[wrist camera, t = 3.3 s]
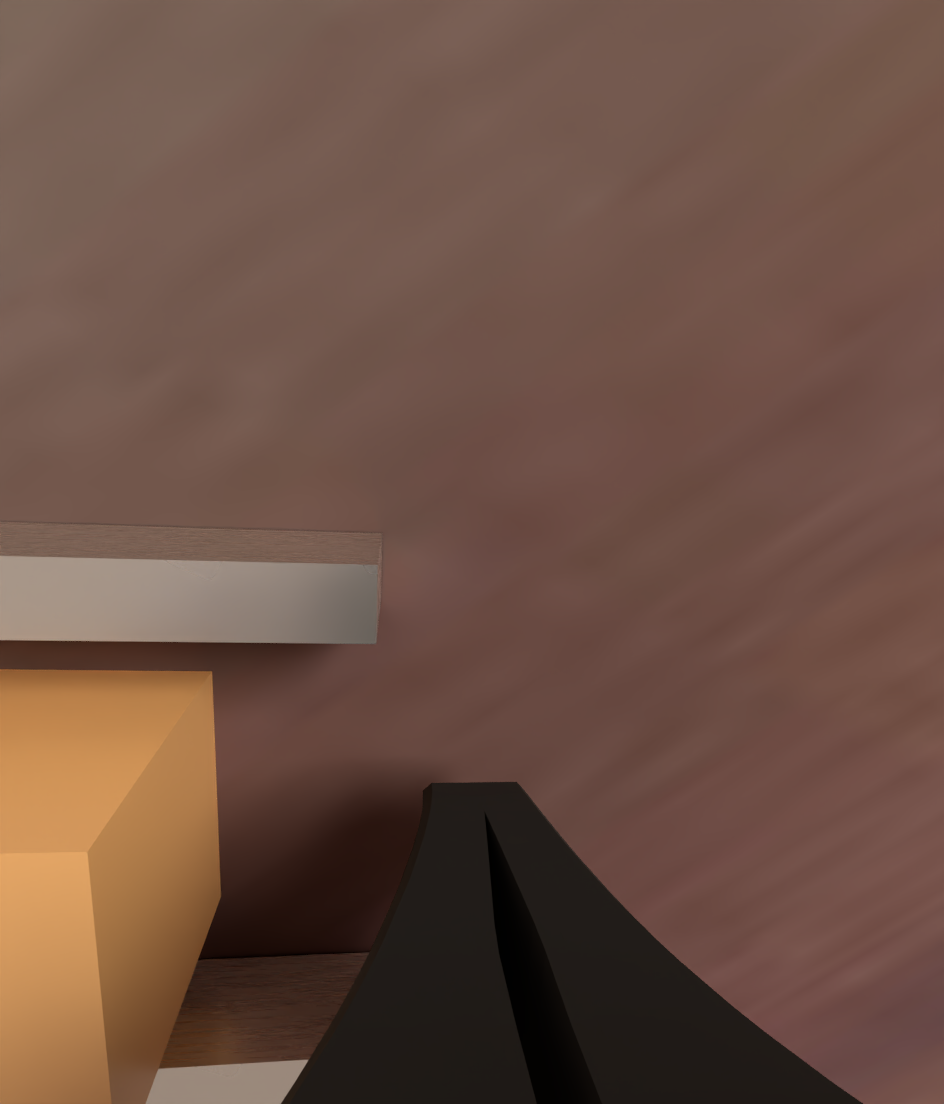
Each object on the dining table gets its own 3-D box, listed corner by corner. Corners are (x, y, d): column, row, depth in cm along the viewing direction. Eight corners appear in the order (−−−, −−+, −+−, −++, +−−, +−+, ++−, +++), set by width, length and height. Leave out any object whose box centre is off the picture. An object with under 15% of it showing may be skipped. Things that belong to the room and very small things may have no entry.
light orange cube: (213, 669, 10) (86, 851, 6) (222, 892, 11) (118, 1176, 7) (-75, 666, 9) (-417, 862, 5) (-40, 900, 10) (-309, 1207, 6)
